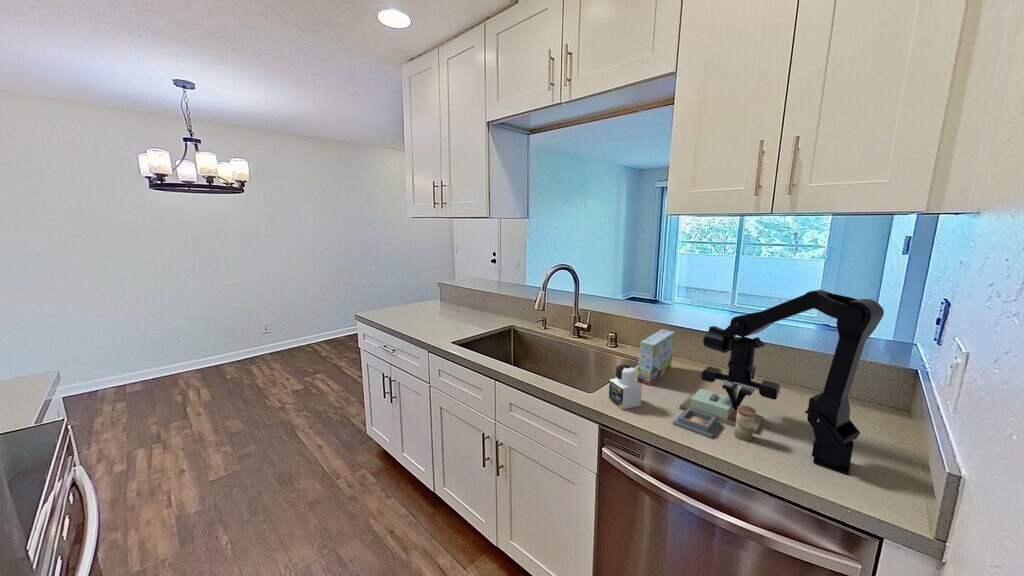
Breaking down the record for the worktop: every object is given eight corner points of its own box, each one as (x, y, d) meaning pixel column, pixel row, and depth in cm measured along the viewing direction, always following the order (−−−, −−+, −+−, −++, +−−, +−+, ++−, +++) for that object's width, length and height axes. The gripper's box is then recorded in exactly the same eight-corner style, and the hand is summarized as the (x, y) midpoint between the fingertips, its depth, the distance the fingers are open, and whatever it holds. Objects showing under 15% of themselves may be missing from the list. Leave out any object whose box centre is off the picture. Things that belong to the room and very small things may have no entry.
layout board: (763, 419, 109) (763, 415, 109) (755, 433, 102) (755, 429, 102) (690, 397, 123) (691, 394, 123) (679, 408, 116) (679, 405, 116)
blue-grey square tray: (721, 425, 107) (721, 417, 106) (711, 438, 100) (712, 430, 100) (684, 412, 113) (684, 405, 113) (672, 424, 107) (673, 417, 106)
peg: (753, 436, 101) (757, 409, 99) (750, 443, 98) (753, 414, 96) (736, 431, 104) (739, 403, 102) (732, 437, 101) (735, 409, 99)
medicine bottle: (608, 399, 122) (609, 364, 119) (626, 396, 124) (628, 361, 122) (621, 410, 115) (624, 372, 113) (641, 406, 117) (643, 369, 115)
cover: (735, 408, 114) (736, 396, 113) (727, 419, 107) (728, 407, 107) (699, 397, 120) (701, 386, 120) (690, 407, 114) (691, 395, 113)
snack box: (651, 386, 131) (654, 344, 128) (636, 382, 135) (638, 341, 132) (672, 368, 147) (675, 331, 144) (657, 364, 151) (660, 328, 148)
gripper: (787, 359, 106) (779, 410, 109) (714, 343, 119) (709, 390, 122) (779, 370, 98) (772, 425, 101) (703, 352, 111) (698, 402, 114)
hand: (735, 409), depth 110 cm, fingers closed
